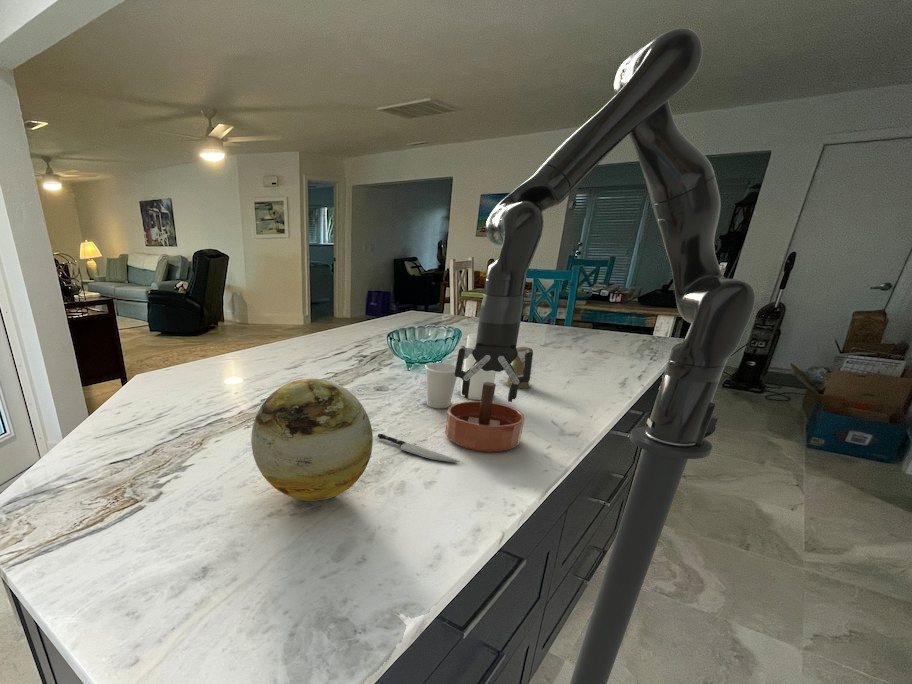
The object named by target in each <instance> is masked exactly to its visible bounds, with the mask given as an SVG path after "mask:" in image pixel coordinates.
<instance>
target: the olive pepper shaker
mask: <svg viewBox="0 0 912 684" xmlns="http://www.w3.org/2000/svg"><path fill="white" fill-rule="evenodd" d="M516 349H517V351H526V350H528V349H529V350H531V351H532V354H533V355H534V350H533V349H532V348H531V347H528V346H516ZM511 365H512V367H513V368H514V370H515V372H516V374H517V375H518V376H519V375H523V367H524V362H521V359H520V357H517V358H516V359H515V360H514V361H513V362H512V363H511ZM511 382H512V380H511V379H510V377H509V376H508V377H507V380H506V386H507V387H509V388H510V383H511ZM529 384H530V381H529V382H523V383H520V384H519V385H518V389H528V388H529Z"/></svg>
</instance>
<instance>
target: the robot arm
mask: <svg viewBox="0 0 912 684" xmlns="http://www.w3.org/2000/svg"><path fill="white" fill-rule="evenodd" d="M703 51H704V50H703V43H702V40H701V37H700V36H699V35H698V33H697V32H696V31H695V30H693V29H690V28H688V27H677V28H673V29H670V30H668V31H666V32H663V33H661V34H660V35H658V36H656V37H655V38H653V39H652V40H651V41H649V42H648V43H646V44H645V45H643V46H642V47H640V48H639V49H637V50H636V51H635V52H633V53H632V54H630V55H629V56H628V57H626V59H624V61H622V62H621V64H620V65H619V67H618V68H617V70H616V72H615V76H614V78H613V87H612V89H613V97H612V98H610V100H609V101H608V102H607V103H606V104H604V106H603V107H601V109H600V110H598V111H597V113H595V114H594V115H593V116H591V118H589V119H588V120H587V121H586V122H585V123H584V124H583V125H581V126H580V127H579V128H578V129H577V130H576V131H574V132H573V133H571V135H570V136H569V137H568V138H567V139H565V140H564V141H563V143H561V144H560V145H559V146H558V147H557V148H556V149H555V150H554V151H553V152H552V153H551V155H549V157H548V158H547V159H546V160H544V162H543V163H542V164H541V165H540V167H538V169H537V170H536V171H535V172H534V173H533V174H532V175H531V176H530V177H529V178H528V179H527V180H525V181H524V182H523V183H521V184H519V186H517V187H516V188H515V189H513V190H512V191H511V192H510V193H508V195H506V196H505V197H504V198H503V199H502V200H500V202H499V203H498V204H496V206H495V207H494V208H493V209H492V210H491V212H490V214H489V216H488V217H487V220H486V223H485V228H484V229H485V235H486V238H487V239H488V241H489V242H491V243H492V244H494V245H497V246H501V248H500V251H499V254H498V255H499V256H498V257H497V259H496V260H494V261H492V262H491V263H490V264H489V265H488V267H487V270H486V273H485V281H484V289H483V296H482V300H481V304H480V310H479V314H478V325H477V332H476V333H477V339H476V345H475V347H474V348H466V347H465V346H464V345H461V346H459V349H458V351H457V352H458V354H457V358H456V364H455V365H456V369H455V376H456V377H457V378H460V379H461V381H462V380H463V385H462V384H461V386H462V395H465V397H463V398H465V399H469V398H468V393H469V386H470V378H471V377H472V376H473V375H474V374H476V373H477V372H478V371H479V370H480V369H483V370H484V371H491V370H493V371H496V373H501V372H503V371H504V372H505V373H506V375H507V376H508V377H510V379H511V380H512V382H511V383H510V387H509V389H508V396H507V402H508V403H512V402H513V400H516V399H517V396H518V390H519V388H518V385H519V384H520V383H523V382H529V383H530V380H531V374H532V365H533V364H532V363H533V357H534V353H533V354H532V351H531V350H529V349H528V350H526V351H517V349H516V348H517V344H518V339H519V332H520V327H521V326H520V325H521V320H522V316H523V309H524V305H523V304H524V293H525V292H524V291H525V288H526V281H527V274H528V270H529V268H530V266H531V263H532V262H533V259H534V257H535V254H536V252H537V249H538V246H539V244H540V241H541V237H542V234H543V231H544V223H545V222H544V213H543V212H545V211H547V210H550V209H552V208H555V207H557V206H558V205H560V204H561V203H563V202H564V201H565V199H566V198H568V197H569V195H570V194H572V192H573V191H574V190H575V189H576V188H577V187H578V186H579V185H580V184H581V183H582V182H583V181H584V180H585V178H587V176H588V175H589V174H590V173H591V172H593V170H594V169H595V168H596V167H597V166H598V165H599V164H600V163H601V162H602V161H603V160H604V159H605V158H606V157H607V156H608V155H609V154H610V153H611V152H612V151H613V150H614V149H615V148H616V147H618V145H619V144H620V143H621V142H622V141H623V140H624V139H625V138H626V137H627V136H628V135H629V138H630V141H631V143H632V145H633V148H634V150H635V153H636V156H637V159H638V162H639V165H640V170H641V172H642V175H643V178H644V182H645V185H646V188H647V191H648V195H649V200H650V204H651V207H652V211H653V214H654V218H655V221H656V223H657V227H658V229H659V232H660V236H661V240H662V243H663V246H664V249H665V253H666V256H667V258H668V261H669V265H670V269H671V274H672V281H673V287H674V295H675V302H676V307H677V311H678V313H679V315H680V316H681V318H682V319H683V320H684V321H686V322H687V323H689V324H692V325H691V327H690V330H689V332H688V335H687V337H686V339H685V340H683V342H679V343H676V344H674V345H673V347H672V348H671V350H670V353H669V357H668V360H667V362H666V366H665V369H664V372H663V376H662V379H661V382H660V385H659V389H658V392H657V396H656V398H655V401H654V405H653V408H652V411H651V414H650V417H647V420H646V424H647V426H646V427H647V429H646V431H645V436H646V437H647V438H648V439H650V440H652V441H654V442H657V443H660V444H664V445H668V446H673V447H694V446H696V447H701V444H702V441H703V439H706V438H708V437H709V436H711V435H712V434H714V433H715V431H716V429H717V428H716V427H717V426H716V425H717V422H718V417H717V416H715V415H714V411H715V408H716V406H717V404H716V402H714V401H713V400H714V398H715V395H716V393H717V389H718V387H719V384H720V381H721V378H722V375H723V373H724V370H725V367H726V365H727V362H728V360H729V358H730V357H731V356H732V355H733V354H734V353H735V351H736V350H737V349H738V347H739V345H740V343H741V341H742V339H743V336H744V334H745V331H746V329H747V326H748V325H749V323H750V320H751V318H752V315H753V312H754V309H755V305H756V301H757V300H756V299H757V297H756V296H757V295H756V290H755V288H754V287H753V286H752V285H751V284H750V283H749V282H747V281H745V280H741V279H735V278H729V277H725V276H724V275H723V272H722V269H721V267H720V264H719V261H718V258H717V255H716V248H715V238H716V233H717V230H718V224H719V219H720V215H721V203H722V202H721V195H720V190H719V185H718V182H717V177H716V173H715V170H714V168H713V165H712V163H711V162H710V160H709V159H708V157H707V156H706V155H705V153H703V151H701V150H700V149H699V148H698V147H697V146H696V145H695V144H694V143H693V142H691V140H689V138H687V137H686V136H685V135H684V133H683V132H682V131H681V129H680V128H679V127H678V125H677V123H676V121H675V119H674V115H673V112H672V108H671V105H670V99H672V98H673V97H674V96H676V95H677V94H679V93H680V92H681V91H683V90H684V89H685V88H686V87H687V86H688V85H689V84H691V82H692V80H693V79H694V77H695V76H696V75H697V73H698V71H699V69H700V67H701V63H702V60H703ZM470 354H472V355H473V357H474V358H475V360H476V362H475V363H474V364H473V365H472V366H471V367H470V368H469V369H468V370H467V371H466V372H465V371H463V366H464V361H465V359H466V358H468V356H469V355H470ZM517 357H520V359H521V362H524V367H523V375H519V376H518V375H517V374H516V372H515V370H514V368H513V367H512V364H513V361H514V360H515V359H516V358H517Z"/></svg>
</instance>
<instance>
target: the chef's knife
mask: <svg viewBox="0 0 912 684" xmlns="http://www.w3.org/2000/svg"><path fill="white" fill-rule="evenodd" d="M377 437H378V438H379V439H380V440H385V441H389V442H391V443H394V444H397V445H399V446H400V447H399V450H401V451H404V452H408V453H410V454H413V455H416V456H420V457H422V458H426V459H429V460H435V461H442V462H448V463H452V462H453V463H455V462H461V461H460V460H457V459H455V458H453V457H449V456H447V455H444V454H441V453H438V452H436V451H433V450H430V449H426V448H424V447H420V446H418V445H416V444H412V443H408V442H407V441H404V440H401V439H397V438H394V437H391V436H389V435H386V434H383V433H378V434H377Z"/></svg>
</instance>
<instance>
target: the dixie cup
mask: <svg viewBox="0 0 912 684" xmlns="http://www.w3.org/2000/svg"><path fill="white" fill-rule="evenodd" d="M424 368H425V378H426V380H425V381H426V405H427V406H428V407H430V408H434V409H448V408H449V407H450V406H451V402H452V398H453V395H454V394H453V393H454V390H455V386H456V382H457V379H458V377H456V376H455V369H456V364H453V363H448V362H447V363H446V362H433V363H428V364H426V365H425V366H424Z"/></svg>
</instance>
